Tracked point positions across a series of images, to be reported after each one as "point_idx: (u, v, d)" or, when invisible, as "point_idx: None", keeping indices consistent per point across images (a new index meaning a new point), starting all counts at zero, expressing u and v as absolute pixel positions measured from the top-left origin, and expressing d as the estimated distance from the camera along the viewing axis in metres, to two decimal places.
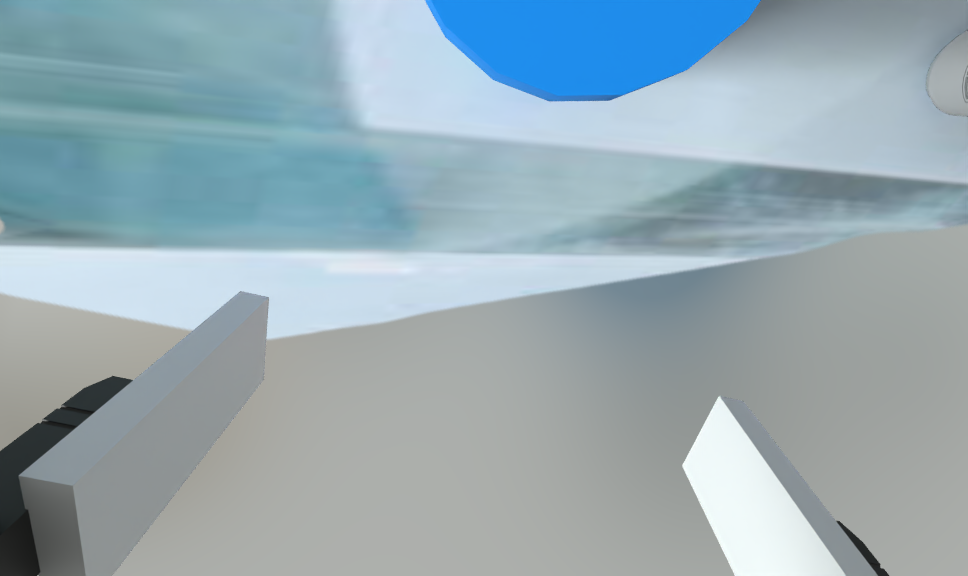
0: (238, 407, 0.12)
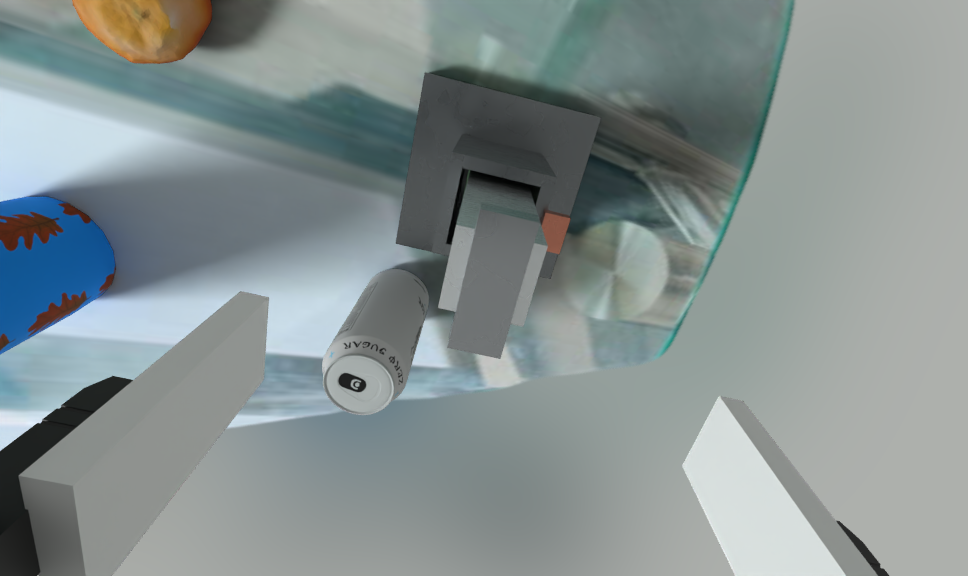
0: (238, 407, 0.12)
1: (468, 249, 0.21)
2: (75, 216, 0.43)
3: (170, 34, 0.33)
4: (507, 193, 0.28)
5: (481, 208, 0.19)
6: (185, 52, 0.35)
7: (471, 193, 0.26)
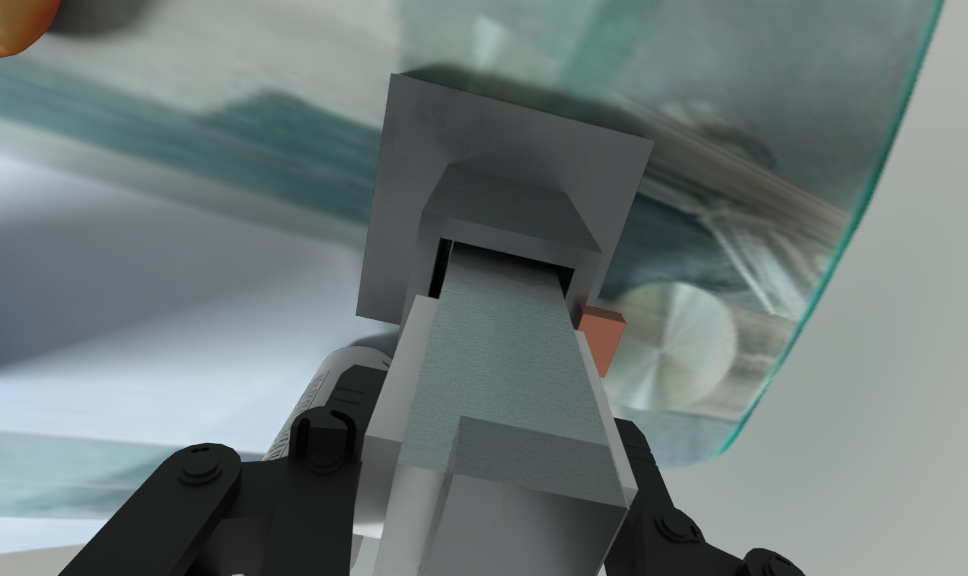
0: None
1: (430, 513, 0.08)
2: None
3: None
4: (518, 288, 0.16)
5: (457, 466, 0.06)
6: (20, 42, 0.23)
7: (451, 302, 0.14)
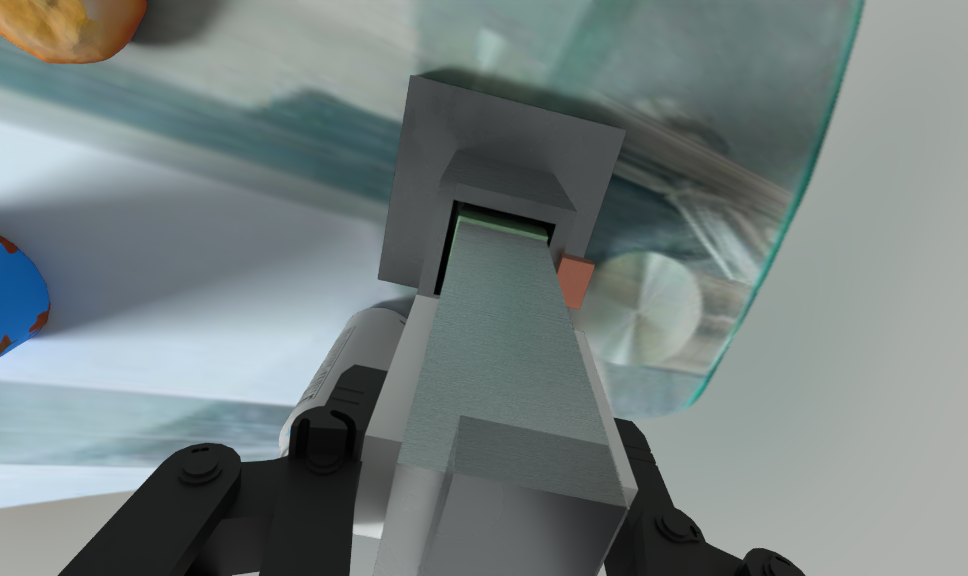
0: None
1: (430, 513, 0.08)
2: None
3: (88, 26, 0.26)
4: (518, 288, 0.16)
5: (457, 465, 0.06)
6: (113, 50, 0.28)
7: (451, 303, 0.14)
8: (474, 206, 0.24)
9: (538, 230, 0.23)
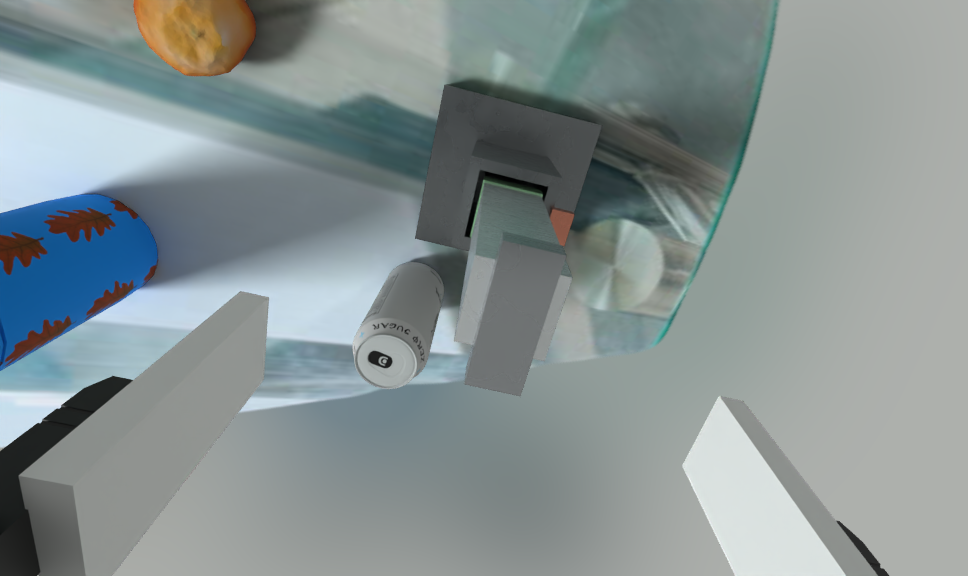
0: (238, 407, 0.12)
1: (487, 280, 0.19)
2: (125, 212, 0.47)
3: (221, 50, 0.38)
4: (524, 214, 0.27)
5: (503, 239, 0.18)
6: (232, 66, 0.39)
7: (487, 215, 0.25)
8: (492, 176, 0.35)
9: (536, 190, 0.34)
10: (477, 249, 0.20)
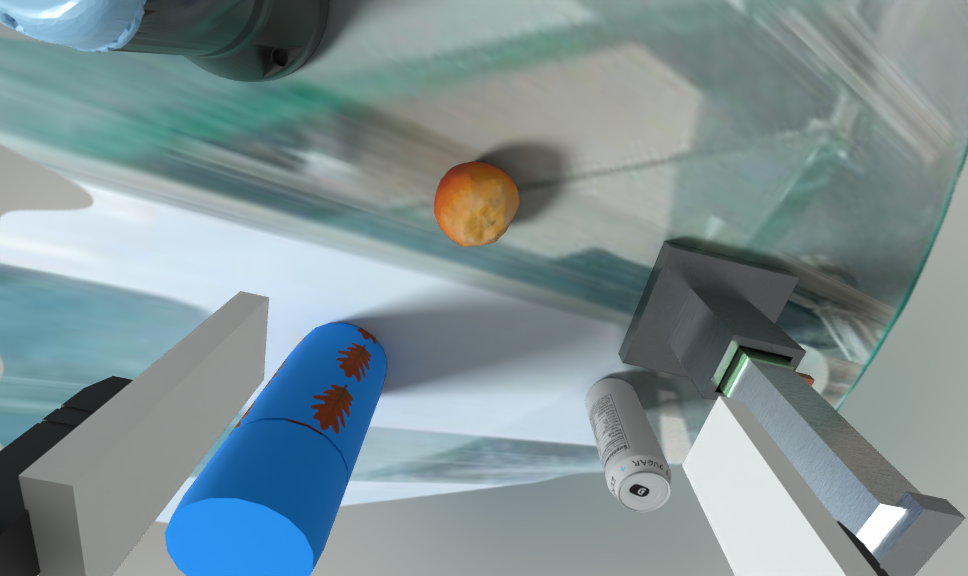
0: (238, 407, 0.12)
1: (883, 518, 0.27)
2: (370, 340, 0.54)
3: (501, 231, 0.45)
4: (824, 414, 0.35)
5: (922, 507, 0.25)
6: (499, 237, 0.47)
7: (816, 428, 0.32)
8: None
9: (785, 361, 0.41)
10: (872, 493, 0.27)
